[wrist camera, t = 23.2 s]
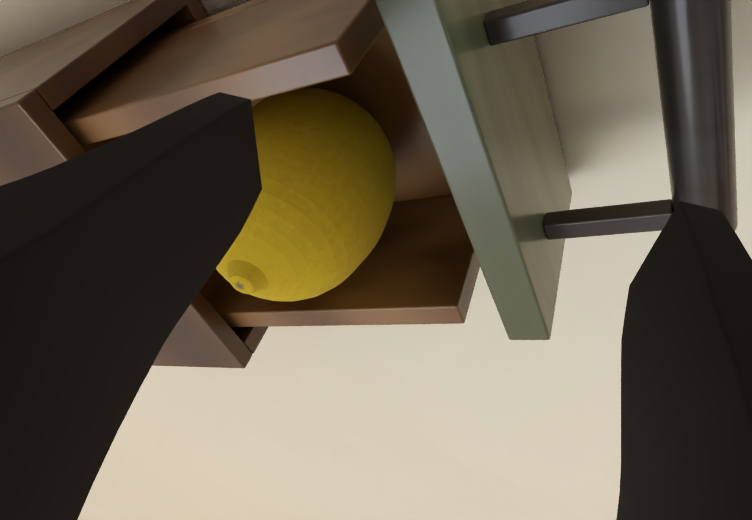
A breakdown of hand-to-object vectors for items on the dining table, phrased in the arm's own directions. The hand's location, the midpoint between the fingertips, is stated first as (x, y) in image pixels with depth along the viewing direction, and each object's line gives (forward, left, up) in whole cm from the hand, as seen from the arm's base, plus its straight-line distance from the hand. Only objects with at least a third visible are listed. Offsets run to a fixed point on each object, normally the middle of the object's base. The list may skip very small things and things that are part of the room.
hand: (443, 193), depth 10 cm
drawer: (+2, -4, -10) cm, 11 cm away
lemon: (+2, -7, -9) cm, 11 cm away
